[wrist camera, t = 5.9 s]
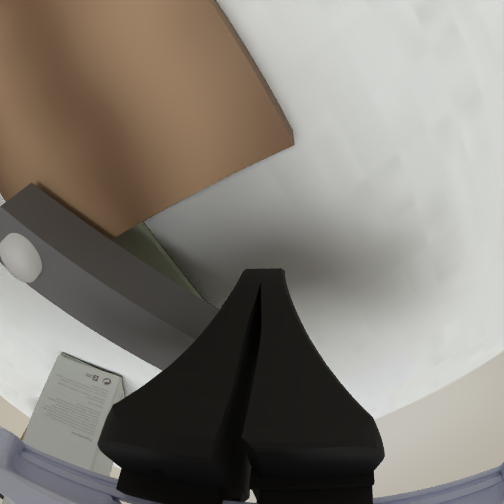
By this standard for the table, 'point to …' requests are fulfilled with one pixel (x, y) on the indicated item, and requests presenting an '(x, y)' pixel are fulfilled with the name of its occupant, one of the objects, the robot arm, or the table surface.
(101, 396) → the skincare box
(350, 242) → the table surface
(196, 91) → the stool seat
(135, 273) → the gray rectangular bar
